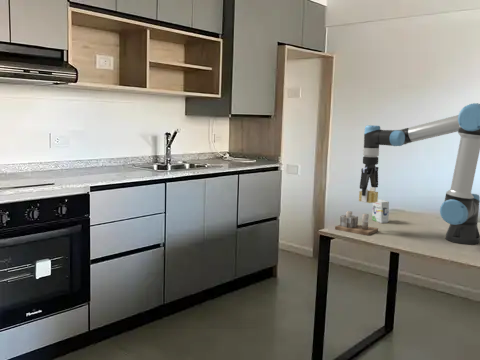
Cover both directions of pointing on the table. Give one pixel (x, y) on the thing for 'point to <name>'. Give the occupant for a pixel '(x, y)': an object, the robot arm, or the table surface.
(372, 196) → the brass gear
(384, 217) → the ink box
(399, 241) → the table surface
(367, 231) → the gear board
